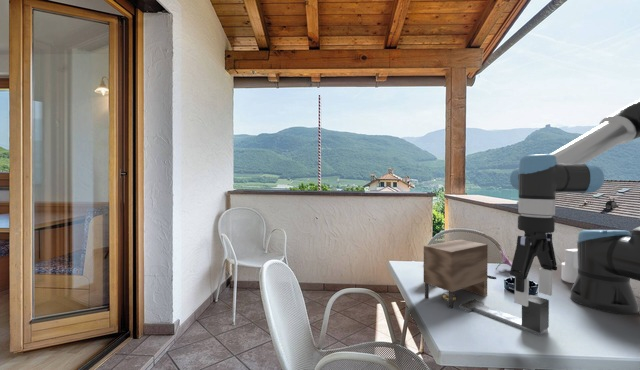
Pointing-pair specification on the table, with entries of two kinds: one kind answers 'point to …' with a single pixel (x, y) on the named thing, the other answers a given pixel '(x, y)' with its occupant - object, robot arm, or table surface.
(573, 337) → the table surface
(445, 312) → the table surface
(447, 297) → the brass disc
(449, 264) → the cabinet
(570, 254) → the cylinder with rectangular tab
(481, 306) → the flat bar with block
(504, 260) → the lily
